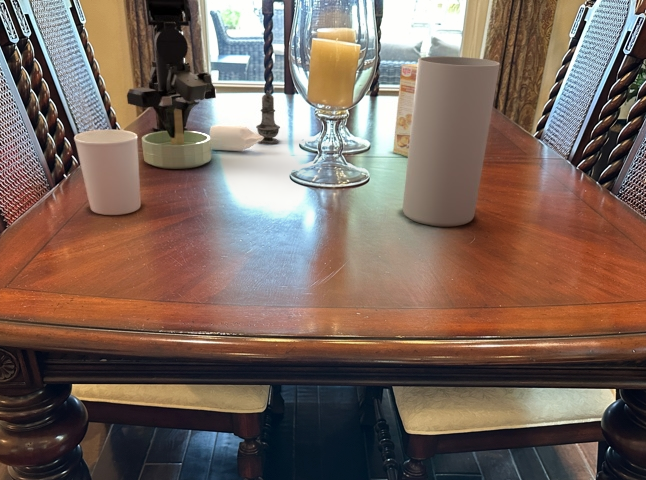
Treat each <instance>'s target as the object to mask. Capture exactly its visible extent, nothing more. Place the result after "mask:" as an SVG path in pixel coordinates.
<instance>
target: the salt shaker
mask: <svg viewBox="0 0 646 480" xmlns="http://www.w3.org/2000/svg"><path fill="white" fill-rule="evenodd" d="M274 99H275V97H274V95H272V94H270V91H269V90H268V89H267V90H266V93H265V94H264V95H262V97H261V109H260V112H261V122H260V124H257V125H256V126H255V128H256V129H257V134H259V135H261V136H263V137H264V138H263V139H262V140H261V141H259V142H258V143H259V144H263V145H275V144H279V143H280V140H278V139H277V138H276V137H277V136H278V134H279V133H280V129H281V126H280V125H278V124H276V121H275V112H276V110H275V106H274V105H275V103H274V101H275V100H274Z"/></svg>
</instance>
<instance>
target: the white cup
mask: <svg viewBox="0 0 646 480" xmlns="http://www.w3.org/2000/svg"><path fill="white" fill-rule="evenodd" d="M73 140H74V142H75V146H76V151H77V155H78V161H79V165H80V169H81V174H82V177H83V182H84V187H85V191H86V195H87V200H88V204H89V208H90V210H91V211H92V212H93V213H95V214H98V215H102V216H103V215H104V216H120V215H126V214H130V213H134V212H136V211H138V210H139V209H140V208H141V205H142V203H141V202H142V201H141V184H140V183H141V182H140V178H141V177H140V164H139V163H140V162H139V161H140V160H139V145H138V140H139V139H138V134H137V133H135V132H133V131H130V130H125V129H124V130H123V129H94V130H88V131H83V132H79V133H77V134H75V135H74V137H73Z"/></svg>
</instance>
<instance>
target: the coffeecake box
mask: <svg viewBox="0 0 646 480" xmlns="http://www.w3.org/2000/svg"><path fill="white" fill-rule="evenodd" d="M417 65H418V63H408V64H401V68H400V77H399V86H398V87H399V88H398V97H397V107H396V118H395V128H394V138H393V147H392V153H395V154H398V155H401V156H404V157H407V158H408V151H409V142H410V132H411V123H412V113H413V104H414V94H415V84H416V75H417Z"/></svg>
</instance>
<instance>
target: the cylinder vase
mask: <svg viewBox="0 0 646 480" xmlns="http://www.w3.org/2000/svg"><path fill="white" fill-rule="evenodd" d="M417 64H418V65H417V75H416V84H415V94H414V104H413V113H412V123H411V132H410V142H409V151H408V157H407V164H406V170H405V171H406V173H405V179H404V181H405V182H404V190H403V199H402V212H403V214H404V215H405V217H406V218H407V219H409V220H411V221H413V222H416V223H418V224H422V225H426V226H432V227H440V228H441V227H442V228H445V227H446V228H447V227H448V228H450V227H458V226H463V225H466V224H469V223H470V222H472V221H473V219H474V218H475V215H476V209H477V203H478V196H479V191H480V186H481V185H480V184H481V178H482V174H483V173H482V172H483V166H484V161H485V156H486V148H487V143H488V137H489V130H490V125H491V120H492V119H491V118H492V113H493V109H494V108H493V107H494V101H495V97H496V96H495V95H496V89H497V83H498V78H499V71H500V66H501V63H500V62H498V61H495V60H491V59H484V58H477V57H466V56H450V55H449V56H445V55H441V56H439V55H435V56H431V55H430V56H423V57H421V56H420V57H418V59H417Z"/></svg>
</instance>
